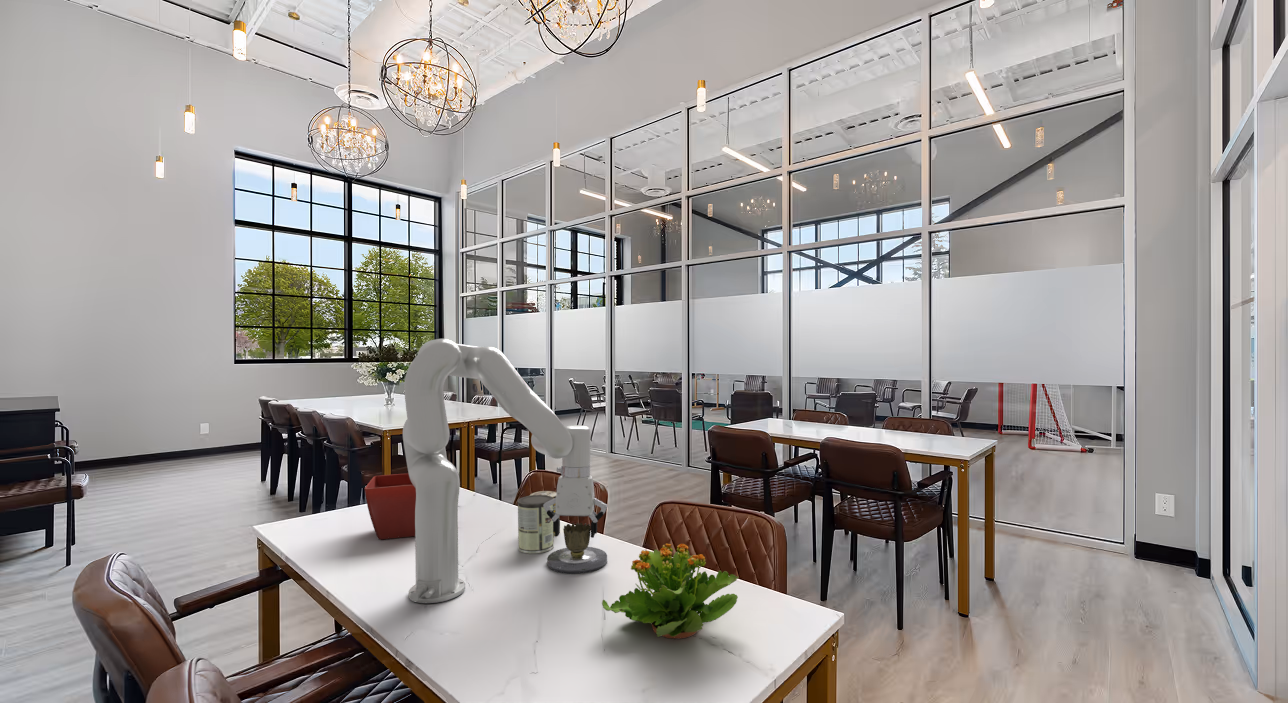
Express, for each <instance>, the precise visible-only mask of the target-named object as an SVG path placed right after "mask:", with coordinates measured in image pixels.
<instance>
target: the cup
mask: <svg viewBox="0 0 1288 703" xmlns="http://www.w3.org/2000/svg"><path fill="white" fill-rule="evenodd" d="M562 530H563V536H564V537H563V538H564V543H565V546H566V547H565V548H567V549H568V550H570V551H571V553H570V554H571V556H572V557H575V558H579V557H582V556H583V555H584V550H585V549H586V548H587V547H589V544H590V542H591V541H590V539H591V523H588V524H587V523H586V522H585V523H584V524H583V523H582V522H576V524H575V523H574V522H573V523H571V524H570V523H567V524H566V525H564V526H563V527H562Z"/></svg>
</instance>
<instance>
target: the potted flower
mask: <svg viewBox="0 0 1288 703" xmlns="http://www.w3.org/2000/svg"><path fill="white" fill-rule="evenodd" d="M673 551H674V549H673V548H672V544H670V543H665V544H663V545H662V547H661V548H660V549H659V550H658V549H654V550H653V551H651V550H644V549H641V551H640V553H639V554H638V558H639V559H634V560H632V561H631V563H632V565H631V566H630V570H632V571H635V573H636V574H637V579H638V582H639V584H640V586H639V584H637V583H635V585H636V587H635V588H634V590H633V591H631V590H628V592H627V593H626V594H621V595H620V596H619V597H618V600H615V601H614V602H612V603H611V605H610V606H609V604H608V601H606V599H603V600H602V602H601V604H602V608H603V609H604V610H605V611H606V612H609V611H610V612H613V613H615V614H617V613H623V614H624V613H625V614H624V616H625V617H626V618H629V620H631V621H632V622H634V621H635V622H641V623H643V624H651V627H652V630H653V633H655V635H656V637H664V638H665V639H673V640H675V639H684V638H686V639H687V638H689V637H692V636H694V635H695V634H697V633H698V632H699V631H701V630H703V626H704V624H705V623H711V622H713V621H716V620H718V619H720V618H721V617H722V616H724V615H725V614H726V613H728V612H729V611H731V610H732V609H733V607H734V606H735V605H736V603H737V602H738V595H737V594H735V593H731V594H730V593H726V594H722V595H720V596H717V597H716V598H715V599H712V600H711V601H710V602H709V603H705V601H707V600H708V599H709V598H710V597H712V596H713V595H714V594H717V593H718V592H719V591H721V590H722V589H725V588H727V587H728V586H731V584H733V583H734V582H736V581H737V579H739V575H738V576H736V575H735V574H733V573H731V574H729V572H728V571H726V570H724V571H723V572H722V570H718V572H717V574H716V575H715V574H710V575H709V576H708V574H707V571H706V570H705V571H703V572H701V571H700V569H701V568H702V567H705V566H706V564H707V562H706V557H705V556H704V554H696V555H695V554H692V555H690V551H689V546H688V545H687V544H685V543H680V544H678V545H677V548H676V552H674V554H673ZM695 569H697V572H696V570H695ZM699 571H700V572H699ZM695 573H696V575H695V576H694V574H695ZM693 576H694V577H693ZM642 583H643V584H642ZM643 585H644V586H645V588H644V587H643ZM703 623H704V624H703Z"/></svg>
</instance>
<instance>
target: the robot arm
mask: <svg viewBox="0 0 1288 703" xmlns="http://www.w3.org/2000/svg"><path fill="white" fill-rule="evenodd" d="M448 376H451V377H457V378H465V379H466V378H467V379H476V380H479V382H481V383H482V385H483V386H484V387H485V389H486V390H488V392H489V393H490V394H491V395H492V396H493V398H494V399H495V401H496V402H497V403H498V405H499V406H500V407H501V409H502V410H503V411H504V412H506V413H507V415H508V416H510V417H512V418H513V419H514V420H516V421H518V422H519V423H520V424H522V425H523V426H524V427H525V428H526V429H527V430H528V431H529V432H530V433H531V438H530V440H531V442H530V443H531V445H532V447H533V449H534V450H535V451H537V452H538V453H540V454H542V455H545V456H548V457H550V458H552V459H557V460H559V459H561V466H557V467H556V473H560V474H561V475H560V476H558V478H557V479H558V480H557V485H556V491H555V492H556V498H554V499H552V500H550V501H548V502H546V503H544V505H543V506H544V509H545V511H546V512H547V515H548V516H549V517H550V518H551V519H552V521H553V532H555V536H554V537H558V536H559V535H560V534H561V519H560V516H562V517H588V518H590V520H591V522H590V525H591V531H590V539H592V538H594V537H595V535H596V534H597V533H598V522H599V520H601V518H603V517H604V514H606V511H607V509H608V508H609V507H608V504H607V503H605V502H603V501H602V500H599V499H598V498H596V495H595V487H594V486H595V484H594V479H593V476H592V475H591V437H592V436H591V434H592V433H591V429H590V427H589V426H588V425H587V426H586V425H579V424H576V425H574V424H572V425H567V426H565V425H564V423H563V422H562V421H561V420H560V418H559V417H558V416H557V415H556V414H555V413H554V411H553V410H552V409H551V408H550V407H549V406H548V405H547V404H546V403H545V402H544V401H543V400H542V399H541V398H540V396H538V395H537V394H536V393H535V392H534V391H533V389H531V387H530V386H529V385H528V384H527V382H526V381H525V380H524V378H523V377H522V376H521V375H520V374H519V372H518V371H517V370H516V368H515V366H514V365H513V364H512V363H511V361H510V360H509V359H508V357H506V355H505V353H503V351H501V350H500V349H498V348H496V347H494V346H477V345H476V346H475V345H467V344H460V343H456V342H455V341H454V340H450V339H448V338H437V339H431V340H429V341H426V342H425V343H424V344H422V345H421V347H420V348H419V350H418V353H417V355H415V357H414V358H413V360H412V362H411V363H410V365H409V367H408V368H407V371H406V374H405V378H404V384H403V385H404V386H403V388H404V389H403V391H404V400H405V401H404V403H405V410H406V420H405V421H404V424H403V428H402V440H403V448H404V453H405V461H406V466H407V471H408V472H407V473H409V477H410V480H411V482H412V484H413V486H414V487H415V488H416V506H415V536H414V539H415V541H414V542H415V543H414V544H415V545H414V546H415V548H414V549H415V553H414V554H415V555H414V556H415V561H414V562H415V584H414V585H412V586H411V587H410V588H409V590H408V598H409V600H411V601H412V602H415V603H419V604H436V603H437V604H438V603H442V602H446V601H449V600H453V599H454V598H457V597H458V596H460V595H461V594H463V593H464V592H465V590H466V582H465V580H463V579H461V578H459V496H460V487H461V485H460V484H461V481H460V476H459V472H458V469H457V468H456V466H455V465H454V464H453V463H452V462H451V461H450V460H448V457H447V451H446V450H447V449H446V447H447V445H448V443H449V440H450V427H449V423H448V418H447V410H446V405H445V396H444V387H445V381H446V380H447V379H448ZM555 503H556V506H555V511H556V514H555V513H554V512H553V511H552V510H551V508H550V506H551V505H553V504H555ZM596 506H597V507H599V508H600V511H599V512H598V513H597V512H595V507H596Z"/></svg>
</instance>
